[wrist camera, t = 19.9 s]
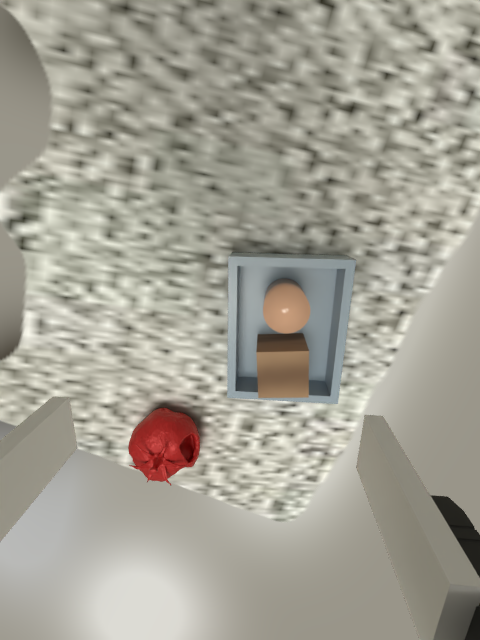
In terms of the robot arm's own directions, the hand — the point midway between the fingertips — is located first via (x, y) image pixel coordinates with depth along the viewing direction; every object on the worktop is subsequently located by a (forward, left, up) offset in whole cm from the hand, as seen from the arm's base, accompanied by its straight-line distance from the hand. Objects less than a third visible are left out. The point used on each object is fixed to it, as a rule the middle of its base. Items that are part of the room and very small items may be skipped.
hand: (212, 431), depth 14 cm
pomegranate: (+22, -11, -29) cm, 38 cm away
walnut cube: (+8, +5, -28) cm, 30 cm away
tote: (+4, +5, -29) cm, 29 cm away
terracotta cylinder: (0, +5, -28) cm, 28 cm away
